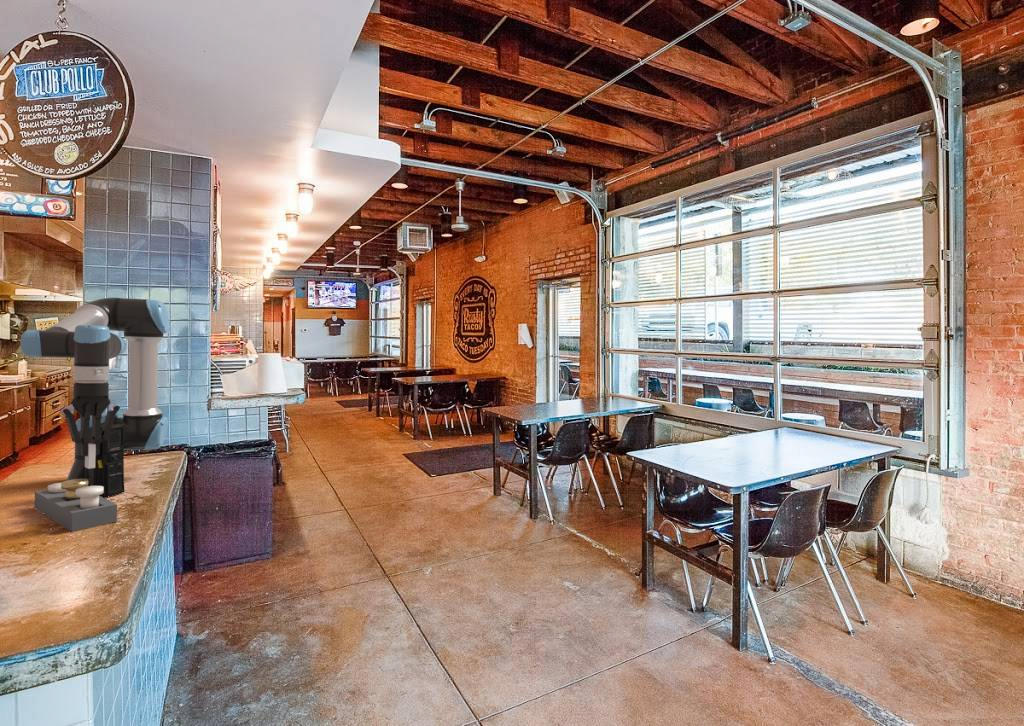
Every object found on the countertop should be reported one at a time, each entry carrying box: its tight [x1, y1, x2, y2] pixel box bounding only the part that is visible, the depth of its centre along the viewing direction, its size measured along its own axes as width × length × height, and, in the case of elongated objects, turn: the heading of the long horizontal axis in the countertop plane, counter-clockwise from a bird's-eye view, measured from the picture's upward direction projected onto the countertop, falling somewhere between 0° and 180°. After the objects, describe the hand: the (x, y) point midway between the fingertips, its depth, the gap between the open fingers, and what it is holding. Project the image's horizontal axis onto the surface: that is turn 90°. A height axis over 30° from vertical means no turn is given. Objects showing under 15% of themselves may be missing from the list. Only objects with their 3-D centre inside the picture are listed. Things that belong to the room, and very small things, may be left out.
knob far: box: [76, 485, 104, 510], centre depth 144 cm, size 6×6×6 cm
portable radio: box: [92, 417, 125, 498], centre depth 169 cm, size 8×6×25 cm
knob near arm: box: [47, 482, 66, 501], centre depth 157 cm, size 6×6×6 cm
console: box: [34, 488, 118, 532], centre depth 151 cm, size 10×30×5 cm, turn 56°
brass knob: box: [60, 479, 88, 501], centre depth 150 cm, size 6×6×6 cm
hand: (90, 467), depth 144 cm, fingers closed
